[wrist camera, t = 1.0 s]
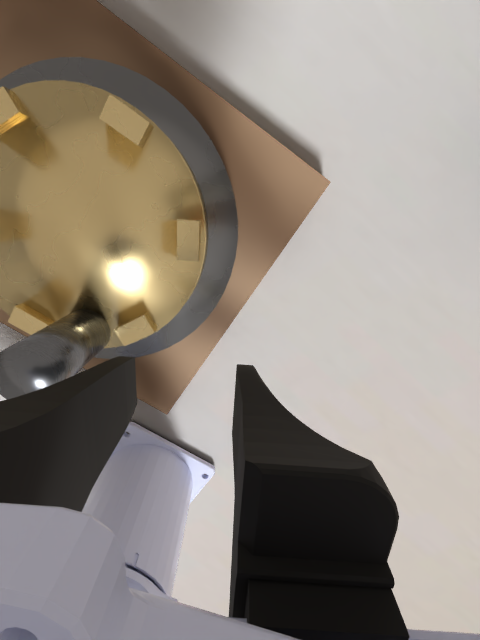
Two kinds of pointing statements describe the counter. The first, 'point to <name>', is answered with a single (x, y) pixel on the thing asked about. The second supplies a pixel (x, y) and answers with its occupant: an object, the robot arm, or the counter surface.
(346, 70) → the counter surface
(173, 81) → the walnut base board
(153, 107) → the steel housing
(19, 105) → the ring nut
